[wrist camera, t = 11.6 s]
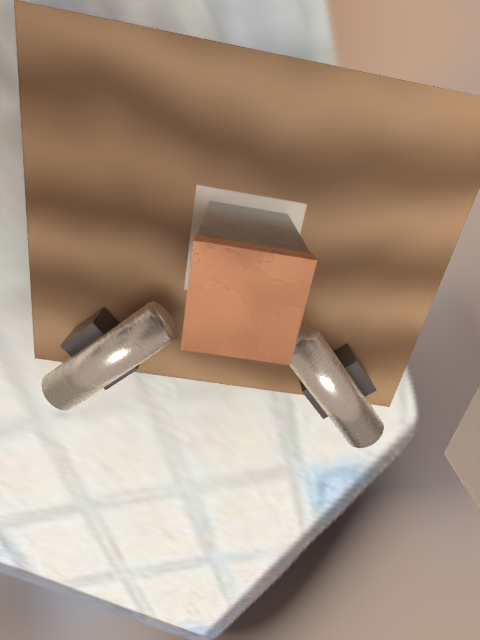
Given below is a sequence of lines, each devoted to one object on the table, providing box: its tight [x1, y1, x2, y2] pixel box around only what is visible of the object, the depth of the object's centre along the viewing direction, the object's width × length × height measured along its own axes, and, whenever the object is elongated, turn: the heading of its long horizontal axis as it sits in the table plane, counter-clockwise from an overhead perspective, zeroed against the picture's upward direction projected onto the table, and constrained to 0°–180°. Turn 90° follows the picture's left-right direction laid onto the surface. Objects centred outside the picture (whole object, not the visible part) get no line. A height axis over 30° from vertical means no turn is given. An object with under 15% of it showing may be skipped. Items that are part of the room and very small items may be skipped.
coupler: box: [180, 201, 317, 365], centre depth 22 cm, size 5×5×10 cm
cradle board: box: [14, 0, 480, 407], centre depth 27 cm, size 22×28×2 cm
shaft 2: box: [289, 325, 384, 448], centre depth 28 cm, size 9×4×5 cm, turn 35°
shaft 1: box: [42, 301, 179, 410], centre depth 27 cm, size 9×4×5 cm, turn 125°
